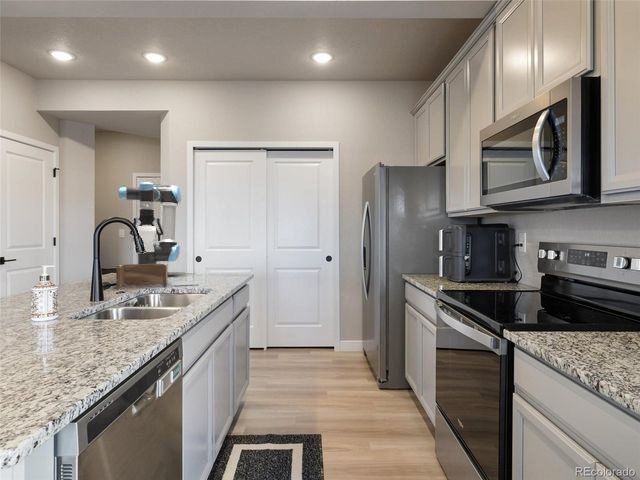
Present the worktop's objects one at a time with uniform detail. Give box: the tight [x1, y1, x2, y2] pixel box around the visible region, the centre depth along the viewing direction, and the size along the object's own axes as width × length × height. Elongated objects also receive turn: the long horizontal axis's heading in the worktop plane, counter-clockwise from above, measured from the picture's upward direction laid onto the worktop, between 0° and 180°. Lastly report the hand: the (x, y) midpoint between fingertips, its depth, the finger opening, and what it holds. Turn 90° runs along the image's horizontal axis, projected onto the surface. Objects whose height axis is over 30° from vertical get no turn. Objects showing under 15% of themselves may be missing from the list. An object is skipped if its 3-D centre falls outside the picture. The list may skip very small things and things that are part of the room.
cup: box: [136, 225, 158, 252], centre depth 219 cm, size 11×11×15 cm
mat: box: [170, 280, 199, 287], centre depth 226 cm, size 15×15×1 cm
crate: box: [115, 263, 169, 290], centre depth 220 cm, size 17×26×13 cm, turn 109°
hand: (147, 246), depth 220 cm, fingers closed on cup, 10 cm apart
